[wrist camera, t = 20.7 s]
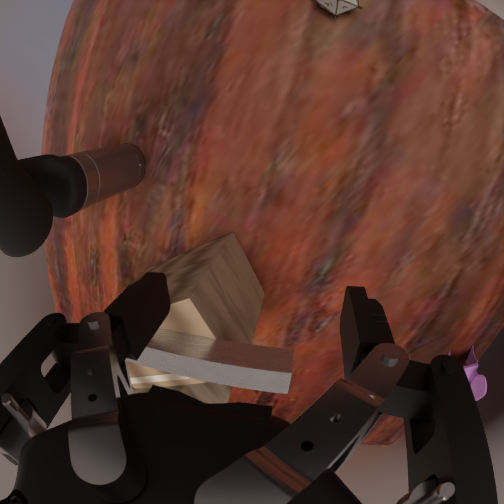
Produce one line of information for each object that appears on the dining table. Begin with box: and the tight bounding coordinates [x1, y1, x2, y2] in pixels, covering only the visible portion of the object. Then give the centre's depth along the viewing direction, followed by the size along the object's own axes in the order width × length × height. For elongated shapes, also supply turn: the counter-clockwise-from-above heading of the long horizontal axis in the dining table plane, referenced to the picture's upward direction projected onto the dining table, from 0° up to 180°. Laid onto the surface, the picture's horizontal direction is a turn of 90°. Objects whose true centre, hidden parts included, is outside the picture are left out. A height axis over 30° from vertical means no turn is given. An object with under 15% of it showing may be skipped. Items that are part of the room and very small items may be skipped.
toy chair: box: [448, 346, 487, 401], centre depth 49 cm, size 8×9×15 cm
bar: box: [126, 328, 294, 394], centre depth 34 cm, size 24×4×4 cm, turn 88°
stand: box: [125, 232, 265, 404], centre depth 46 cm, size 30×27×33 cm
